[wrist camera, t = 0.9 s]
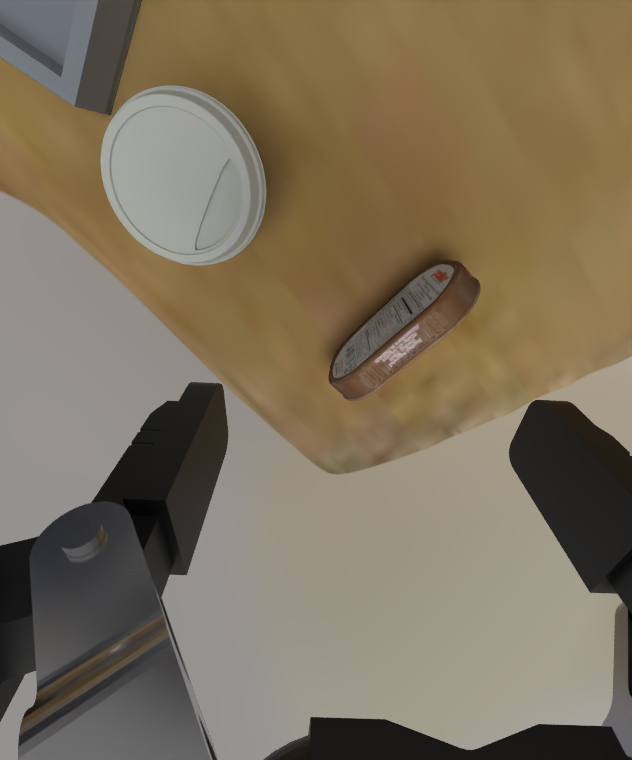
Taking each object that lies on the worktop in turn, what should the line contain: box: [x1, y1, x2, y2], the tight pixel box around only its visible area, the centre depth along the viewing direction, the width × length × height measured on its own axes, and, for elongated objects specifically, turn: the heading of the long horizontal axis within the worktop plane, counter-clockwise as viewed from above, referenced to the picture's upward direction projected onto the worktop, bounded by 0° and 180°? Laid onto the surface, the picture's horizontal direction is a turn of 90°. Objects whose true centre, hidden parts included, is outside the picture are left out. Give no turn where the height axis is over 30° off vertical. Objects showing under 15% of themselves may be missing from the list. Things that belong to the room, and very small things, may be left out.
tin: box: [329, 260, 480, 401], centre depth 30 cm, size 15×3×8 cm, turn 137°
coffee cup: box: [100, 85, 266, 266], centre depth 23 cm, size 8×8×12 cm
